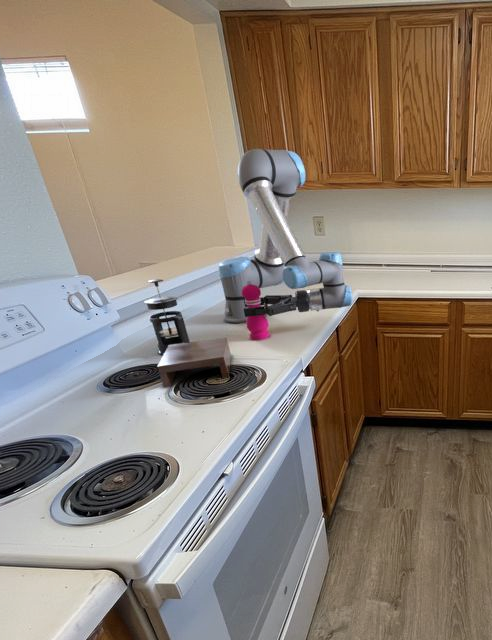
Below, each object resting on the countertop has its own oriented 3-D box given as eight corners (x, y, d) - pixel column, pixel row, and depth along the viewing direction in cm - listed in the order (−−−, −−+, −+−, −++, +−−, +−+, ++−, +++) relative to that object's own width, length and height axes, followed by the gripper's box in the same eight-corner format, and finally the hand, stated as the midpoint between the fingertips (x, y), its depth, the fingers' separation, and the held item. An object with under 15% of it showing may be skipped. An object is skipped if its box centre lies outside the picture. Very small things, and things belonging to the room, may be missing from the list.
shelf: (174, 363, 125) (168, 345, 123) (231, 355, 130) (226, 337, 128) (163, 387, 110) (157, 366, 108) (228, 376, 115) (223, 356, 113)
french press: (151, 353, 134) (128, 282, 125) (176, 343, 142) (156, 276, 133) (177, 357, 130) (156, 284, 121) (201, 347, 138) (183, 277, 129)
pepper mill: (263, 341, 142) (252, 282, 134) (245, 340, 144) (232, 282, 135) (274, 334, 149) (264, 278, 140) (256, 333, 150) (245, 277, 142)
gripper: (314, 319, 138) (246, 328, 131) (305, 303, 160) (246, 309, 153) (311, 297, 135) (241, 305, 128) (302, 283, 156) (242, 289, 150)
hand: (244, 307), depth 141 cm, fingers open, 13 cm apart
